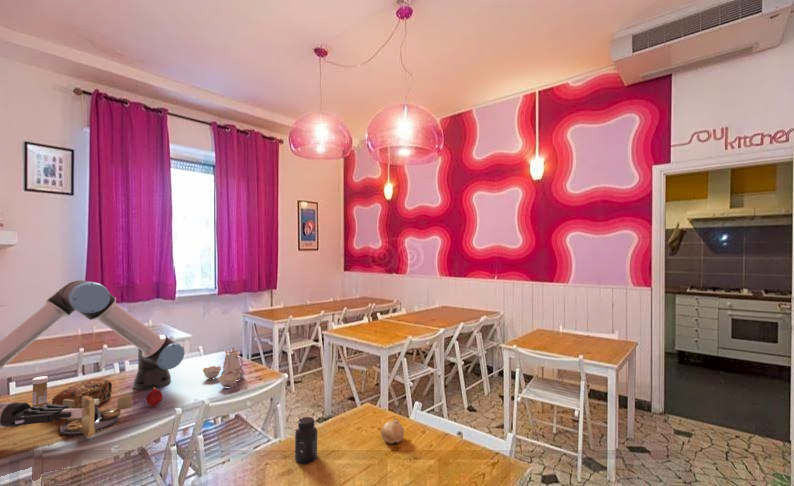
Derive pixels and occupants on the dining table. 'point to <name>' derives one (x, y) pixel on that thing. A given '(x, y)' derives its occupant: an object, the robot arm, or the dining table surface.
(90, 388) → the bread
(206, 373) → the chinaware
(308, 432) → the supplement bottle
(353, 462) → the dining table surface
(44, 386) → the sprinkles bottle
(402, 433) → the onion
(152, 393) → the onion
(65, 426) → the tribrach plate
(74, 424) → the tan upright wooden panel
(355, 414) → the dining table surface
